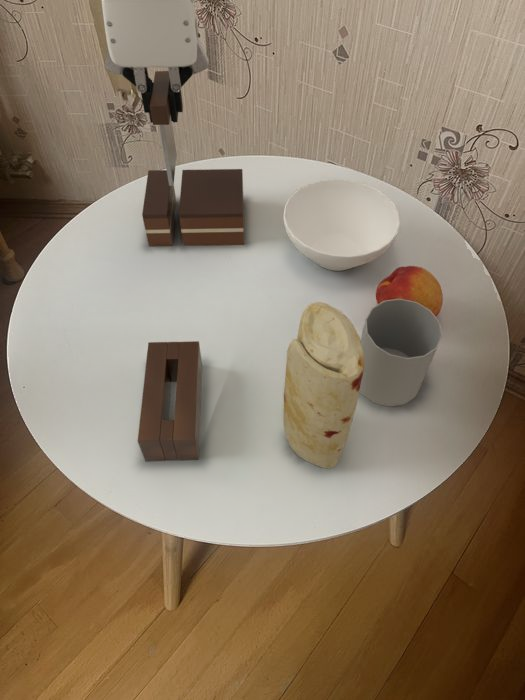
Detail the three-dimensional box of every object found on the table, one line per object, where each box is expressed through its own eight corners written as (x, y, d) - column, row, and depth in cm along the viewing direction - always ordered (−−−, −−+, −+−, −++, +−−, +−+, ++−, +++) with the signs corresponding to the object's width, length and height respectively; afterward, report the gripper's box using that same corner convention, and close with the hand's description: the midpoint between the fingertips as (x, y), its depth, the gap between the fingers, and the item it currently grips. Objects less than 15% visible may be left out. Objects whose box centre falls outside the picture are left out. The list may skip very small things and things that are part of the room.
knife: (163, 188, 77) (149, 106, 67) (167, 152, 82) (155, 71, 72) (178, 188, 77) (166, 105, 67) (181, 152, 82) (170, 70, 72)
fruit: (399, 283, 80) (412, 241, 73) (446, 316, 76) (464, 275, 70) (362, 312, 76) (372, 271, 70) (409, 348, 73) (424, 308, 66)
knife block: (145, 461, 64) (137, 441, 59) (154, 365, 71) (148, 342, 67) (198, 460, 64) (194, 439, 60) (202, 364, 71) (198, 341, 67)
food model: (355, 465, 63) (389, 364, 47) (300, 483, 62) (315, 386, 46) (322, 395, 69) (342, 282, 53) (270, 410, 67) (274, 300, 51)
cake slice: (148, 246, 84) (142, 214, 79) (154, 202, 90) (148, 170, 85) (172, 245, 84) (167, 214, 79) (176, 201, 90) (171, 169, 85)
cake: (183, 245, 84) (178, 214, 79) (186, 201, 90) (182, 169, 85) (244, 244, 84) (243, 213, 79) (243, 200, 90) (242, 168, 85)
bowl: (259, 254, 83) (259, 217, 77) (326, 202, 90) (331, 164, 84) (346, 311, 76) (353, 275, 71) (411, 250, 84) (423, 213, 78)
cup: (424, 358, 72) (445, 308, 64) (417, 413, 67) (438, 366, 59) (359, 344, 73) (371, 292, 65) (347, 396, 69) (359, 348, 61)
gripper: (218, -64, 60) (226, 99, 75) (68, -63, 60) (106, 101, 75) (217, -35, 56) (226, 132, 71) (55, -34, 55) (98, 134, 70)
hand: (164, 115), depth 73 cm, fingers closed on knife, 2 cm apart
